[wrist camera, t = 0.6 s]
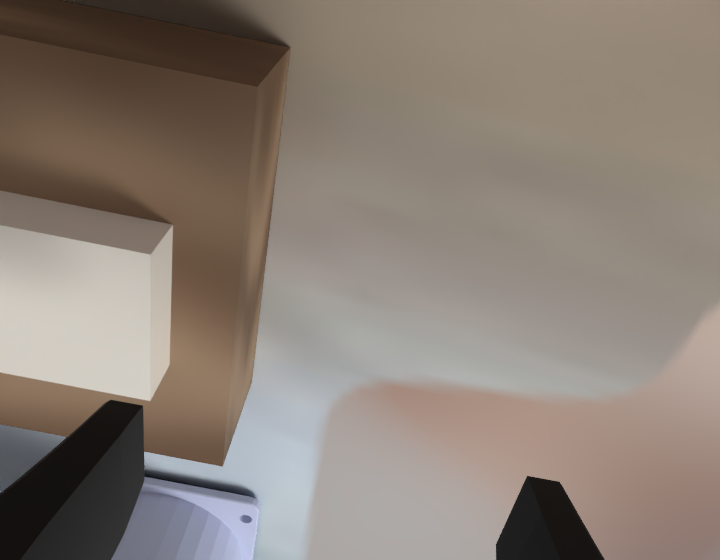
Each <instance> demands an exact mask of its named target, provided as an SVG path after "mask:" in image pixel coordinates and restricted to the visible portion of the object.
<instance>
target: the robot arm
mask: <svg viewBox="0 0 720 560" xmlns="http://www.w3.org/2000/svg"><path fill="white" fill-rule="evenodd" d="M259 513H260V503H259V502H258V500H256V499H255V498H253V497H250V496H244V495H239V494H234V493H228V492H223V491H218V490H213V489H207V488H202V487H197V486H191V485H186V484H181V483H175V482H170V481H165V480H160V479H154V478H149V477H144V422H143V405H137V404H132V403H126V402H121V401H116V400H109V401H107V402H106V403H104V404H103V405H102V406H101V407H100V408H99V409H98V410H97V411H96V412H94V413H93V414H92V415H91V416H90V417H89V418H88V419H87V420H86V421H85V422H84V423H82V424H81V425H80V426H79V427H78V428H77V429H76V430H75V431H74V432H73V433H71V434H70V435H69V436H68V437H67V438H66V439H65V440H64V441H62V442H61V443H60V444H59V445H58V446H57V447H56V448H54V449H53V450H52V451H51V452H50V453H49V454H48V455H46V456H45V457H44V458H43V459H42V460H40V461H39V462H38V463H37V464H36V465H34V466H33V467H32V468H31V469H30V470H28V471H27V472H26V473H25V474H24V475H22V476H21V477H20V478H19V479H18V480H16V481H15V482H14V483H13V484H12V485H10V486H9V487H8V488H7V489H5V490H4V491H3V492H2V493H0V560H253V555H254V548H255V541H256V534H257V527H258V520H259ZM496 560H604V558H603V556H602V554H601V553H600V551H599V549H598V548H597V546H596V544H595V543H594V541H593V539H592V538H591V536H590V534H589V532H588V530H587V529H586V527H585V525H584V523H583V522H582V520H581V518H580V516H579V515H578V513H577V511H576V509H575V508H574V506H573V504H572V502H571V501H570V499H569V497H568V495H567V494H566V492H565V490H564V488H563V487H562V485H561V484H560V482H557V481H551V480H546V479H541V478H535V477H529V476H527V478H526V480H525V482H524V484H523V486H522V489H521V491H520V493H519V495H518V498H517V500H516V502H515V504H514V506H513V509H512V511H511V513H510V515H509V517H508V519H507V522H506V524H505V526H504V528H503V530H502V533H501V535H500V537H499V539H498V542H497V544H496Z"/></svg>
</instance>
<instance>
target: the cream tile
mask: <svg viewBox="0 0 720 560" xmlns="http://www.w3.org/2000/svg"><path fill="white" fill-rule="evenodd" d="M172 243H173V225H172V224H167V223H162V222H157V221H152V220H147V219H142V218H137V217H132V216H126V215H121V214H116V213H111V212H106V211H101V210H96V209H91V208H86V207H81V206H76V205H71V204H66V203H61V202H56V201H51V200H46V199H41V198H36V197H31V196H25V195H20V194H15V193H10V192H5V191H0V372H1V373H6V374H11V375H16V376H22V377H27V378H32V379H37V380H42V381H48V382H53V383H58V384H63V385H69V386H74V387H79V388H84V389H89V390H95V391H100V392H105V393H110V394H116V395H121V396H126V397H131V398H137V399H142V400H147V401H151V399H152V397H153V395H154V393H155V391H156V389H157V388H158V386H159V384H160V382H161V380H162V378H163V376H164V374H165V373H166V371H167V369H168V367H169V365H170V328H171V286H172Z"/></svg>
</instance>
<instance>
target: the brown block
mask: <svg viewBox="0 0 720 560" xmlns="http://www.w3.org/2000/svg"><path fill="white" fill-rule="evenodd" d="M289 55H290V47H286V46H281V45H276V44H271V43H266V42H261V41H257V40H252V39H247V38H242V37H237V36H232V35H227V34H222V33H218V32H213V31H208V30H203V29H198V28H193V27H188V26H183V25H179V24H174V23H169V22H164V21H159V20H154V19H149V18H145V17H140V16H135V15H130V14H125V13H120V12H115V11H110V10H106V9H101V8H96V7H91V6H86V5H81V4H76V3H71V2H67V1H62V0H0V191H5V192H10V193H15V194H20V195H25V196H31V197H36V198H41V199H46V200H51V201H56V202H61V203H66V204H71V205H76V206H81V207H86V208H91V209H96V210H101V211H106V212H111V213H116V214H121V215H126V216H132V217H137V218H142V219H147V220H152V221H157V222H162V223H167V224H172V225H173V243H172V286H171V328H170V365H169V367H168V369H167V371H166V373H165V374H164V376H163V378H162V380H161V382H160V384H159V386H158V388H157V389H156V391H155V393H154V395H153V397H152V399H151V401H147V400H142V399H137V398H131V397H126V396H121V395H116V394H110V393H105V392H100V391H95V390H89V389H84V388H79V387H74V386H69V385H63V384H58V383H53V382H48V381H42V380H37V379H32V378H27V377H22V376H16V375H11V374H6V373H1V372H0V424H2V425H7V426H13V427H18V428H23V429H28V430H34V431H39V432H44V433H49V434H55V435H60V436H65V437H68V436H69V435H70V434H71V433H73V432H74V431H75V430H76V429H77V428H78V427H79V426H80V425H81V424H82V423H84V422H85V421H86V420H87V419H88V418H89V417H90V416H91V415H92V414H93V413H94V412H96V411H97V410H98V409H99V408H100V407H101V406H102V405H103V404H104V403H106V402H107V401H109V400H116V401H121V402H126V403H132V404H137V405H143V422H144V452H150V453H155V454H160V455H166V456H171V457H176V458H181V459H187V460H192V461H197V462H202V463H208V464H213V465H218V466H223V464H224V461H225V458H226V455H227V452H228V449H229V446H230V444H231V441H232V438H233V435H234V432H235V429H236V426H237V423H238V420H239V418H240V415H241V412H242V409H243V406H244V403H245V400H246V397H247V394H248V392H249V389H250V386H251V383H252V375H253V367H254V358H255V349H256V341H257V332H258V323H259V315H260V306H261V297H262V289H263V280H264V271H265V263H266V254H267V246H268V237H269V228H270V220H271V211H272V202H273V194H274V185H275V176H276V168H277V159H278V150H279V142H280V133H281V124H282V116H283V107H284V98H285V90H286V81H287V72H288V64H289Z"/></svg>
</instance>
